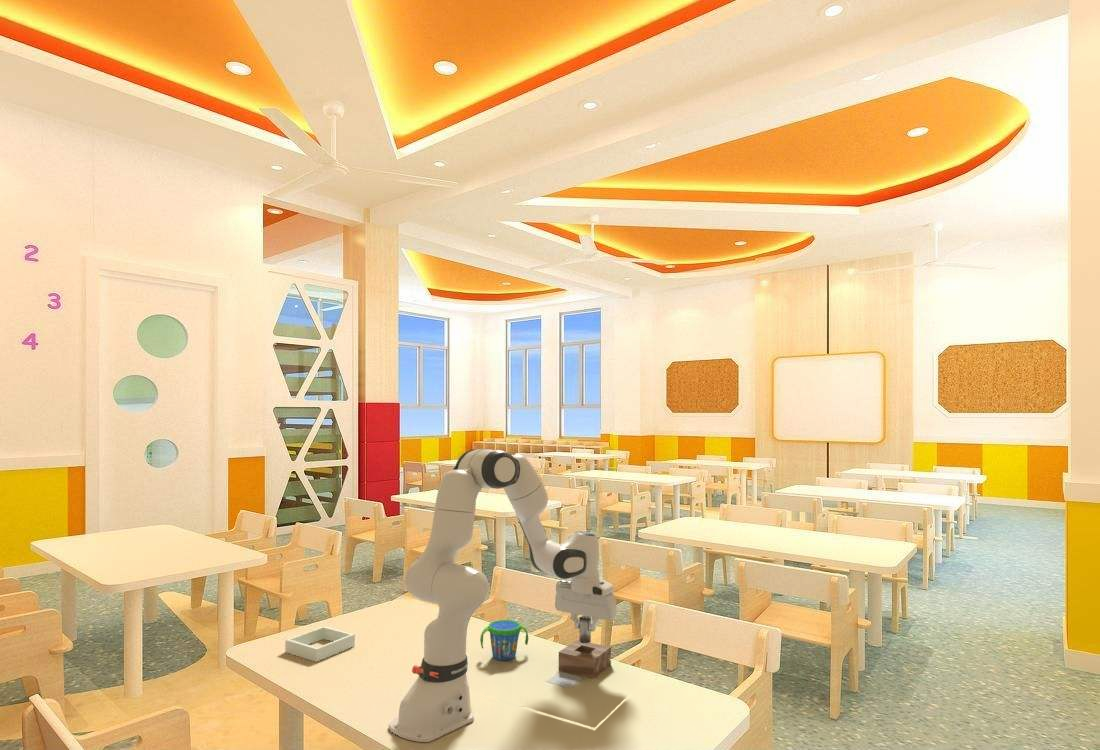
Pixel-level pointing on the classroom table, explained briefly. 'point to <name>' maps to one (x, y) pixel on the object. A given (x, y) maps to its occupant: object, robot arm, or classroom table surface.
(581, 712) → the classroom table surface
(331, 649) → the coaster tray
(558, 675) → the mount plate
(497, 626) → the snack cup
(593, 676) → the socket block
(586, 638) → the pin
